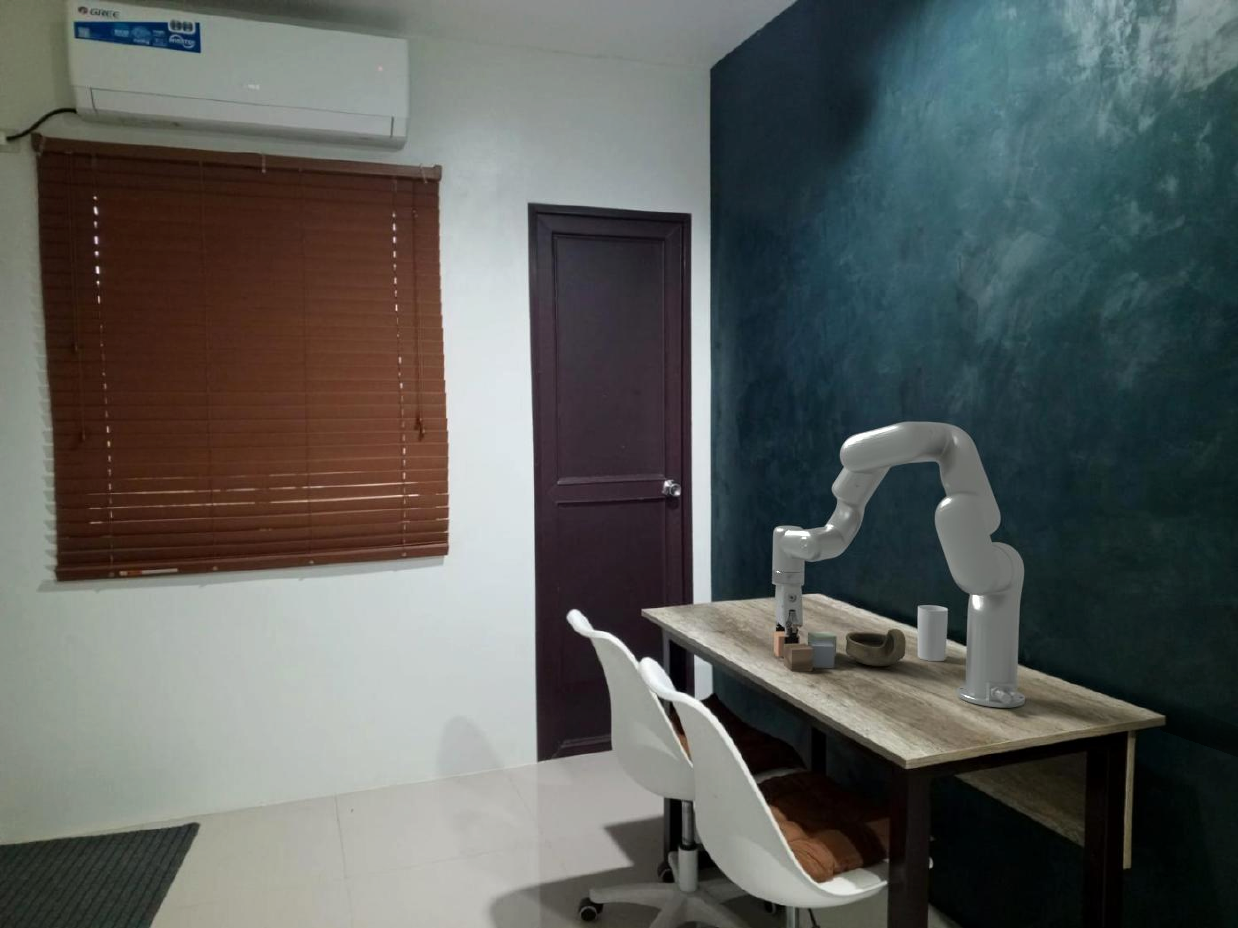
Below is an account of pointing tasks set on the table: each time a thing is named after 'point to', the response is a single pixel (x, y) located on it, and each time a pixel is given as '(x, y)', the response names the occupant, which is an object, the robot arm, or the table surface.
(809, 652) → the walnut cube
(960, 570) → the robot arm
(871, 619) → the table surface
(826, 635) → the sage cube
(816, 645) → the slate cube
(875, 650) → the bowl
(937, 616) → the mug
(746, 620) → the table surface
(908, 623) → the table surface
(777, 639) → the terracotta cube
